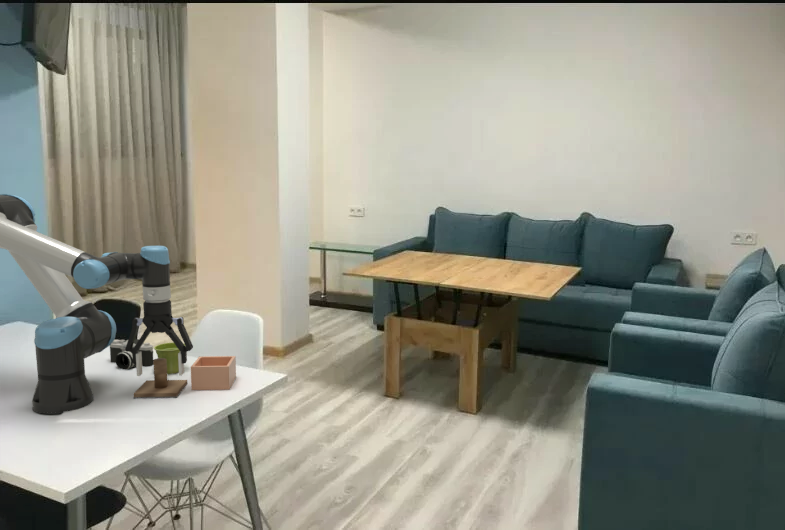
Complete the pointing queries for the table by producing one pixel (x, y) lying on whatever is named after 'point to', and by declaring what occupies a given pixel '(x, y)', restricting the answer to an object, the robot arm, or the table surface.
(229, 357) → the pink open box
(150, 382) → the lid
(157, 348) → the plant pot
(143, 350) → the camera
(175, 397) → the mat
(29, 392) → the table surface
